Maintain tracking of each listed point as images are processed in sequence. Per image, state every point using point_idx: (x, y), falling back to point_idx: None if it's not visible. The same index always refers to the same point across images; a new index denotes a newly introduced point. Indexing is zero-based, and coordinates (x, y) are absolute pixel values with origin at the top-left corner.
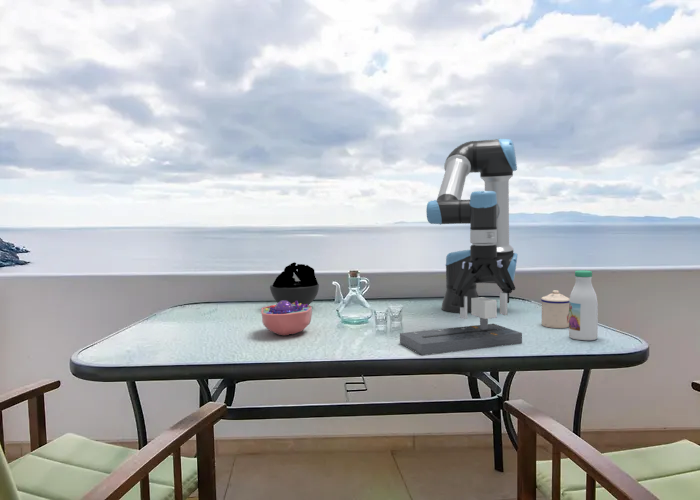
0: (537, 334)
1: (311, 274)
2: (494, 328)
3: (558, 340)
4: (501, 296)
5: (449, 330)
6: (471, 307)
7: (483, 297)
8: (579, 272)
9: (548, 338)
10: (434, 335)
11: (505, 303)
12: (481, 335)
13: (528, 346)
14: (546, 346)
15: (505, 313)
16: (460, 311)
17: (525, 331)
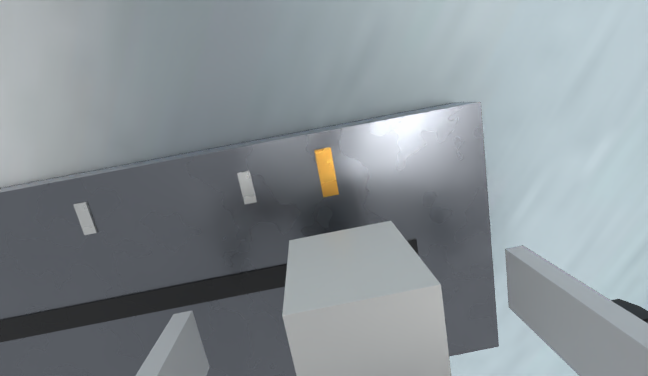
0: (637, 182)
1: None
2: (420, 229)
3: (641, 300)
4: (622, 359)
5: (148, 222)
6: (287, 267)
7: (435, 308)
8: None
9: (628, 262)
10: (34, 324)
11: (573, 367)
12: (285, 358)
13: (469, 362)
14: (534, 373)
15: (518, 314)
16: (156, 350)
17: (628, 106)
